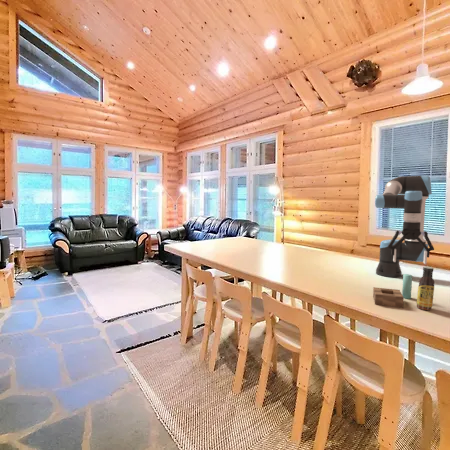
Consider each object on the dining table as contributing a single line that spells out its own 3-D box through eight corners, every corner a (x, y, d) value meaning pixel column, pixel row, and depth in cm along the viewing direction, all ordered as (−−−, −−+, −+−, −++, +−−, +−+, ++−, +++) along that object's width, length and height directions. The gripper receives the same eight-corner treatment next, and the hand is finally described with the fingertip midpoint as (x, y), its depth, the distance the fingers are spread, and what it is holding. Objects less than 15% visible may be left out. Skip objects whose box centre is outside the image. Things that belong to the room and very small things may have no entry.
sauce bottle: (418, 309, 142) (420, 268, 140) (415, 305, 148) (417, 265, 146) (434, 311, 140) (437, 269, 138) (430, 307, 146) (433, 266, 144)
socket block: (373, 296, 161) (373, 287, 160) (398, 299, 157) (399, 289, 156) (375, 304, 150) (375, 294, 149) (402, 307, 145) (403, 297, 145)
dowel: (401, 296, 161) (402, 273, 160) (410, 296, 160) (411, 274, 159) (402, 298, 158) (404, 275, 156) (411, 299, 156) (413, 276, 155)
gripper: (385, 221, 155) (383, 262, 158) (443, 222, 146) (440, 266, 149) (383, 220, 162) (381, 259, 165) (438, 221, 153) (436, 262, 156)
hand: (409, 262), depth 157 cm, fingers open, 13 cm apart
